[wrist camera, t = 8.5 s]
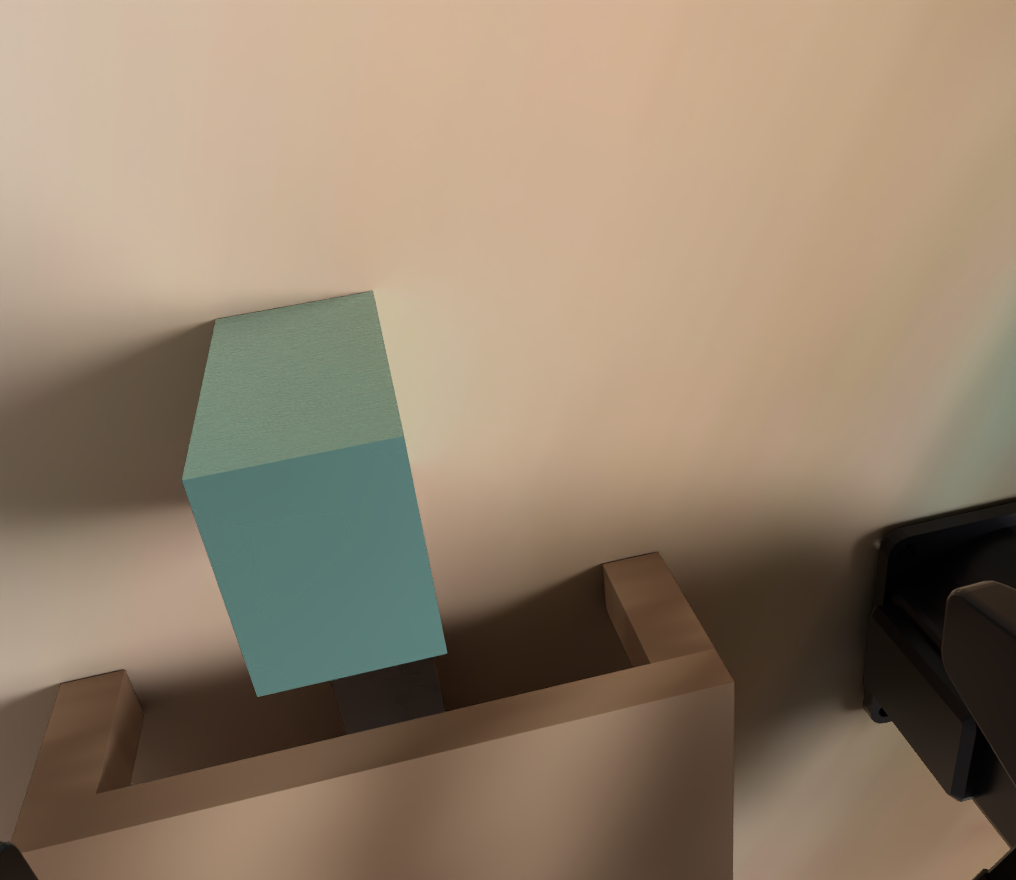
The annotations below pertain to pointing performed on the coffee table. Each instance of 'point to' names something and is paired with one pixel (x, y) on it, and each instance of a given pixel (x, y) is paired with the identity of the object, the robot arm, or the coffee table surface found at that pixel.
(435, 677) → the teal block
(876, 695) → the robot arm
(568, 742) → the low stand
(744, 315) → the coffee table surface
